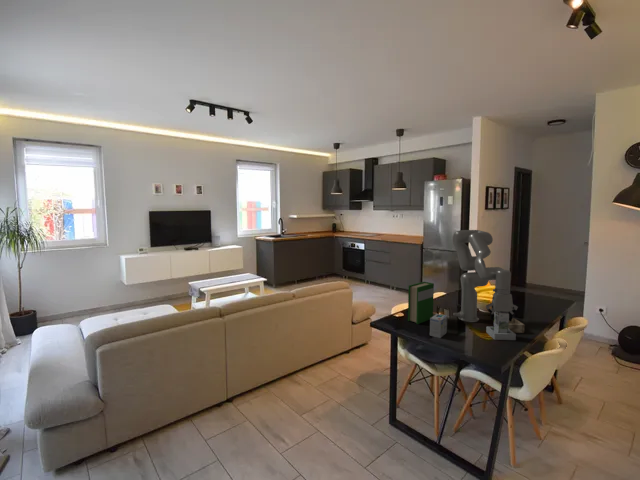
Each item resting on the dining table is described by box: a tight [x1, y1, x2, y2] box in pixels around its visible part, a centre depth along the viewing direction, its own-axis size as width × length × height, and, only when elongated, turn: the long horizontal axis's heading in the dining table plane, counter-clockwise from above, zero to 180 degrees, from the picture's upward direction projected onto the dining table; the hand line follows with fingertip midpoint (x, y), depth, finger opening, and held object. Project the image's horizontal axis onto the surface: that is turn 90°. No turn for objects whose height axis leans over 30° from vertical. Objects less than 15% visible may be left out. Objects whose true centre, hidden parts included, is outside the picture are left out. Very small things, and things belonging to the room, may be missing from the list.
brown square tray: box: [508, 317, 526, 334], centre depth 204 cm, size 11×11×5 cm
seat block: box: [485, 326, 517, 341], centre depth 193 cm, size 11×11×4 cm
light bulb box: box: [429, 313, 448, 339], centre depth 197 cm, size 11×7×11 cm, turn 141°
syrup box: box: [492, 311, 509, 333], centre depth 193 cm, size 6×6×14 cm
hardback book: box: [407, 281, 435, 325], centre depth 221 cm, size 18×7×24 cm, turn 129°
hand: (501, 320), depth 193 cm, fingers open, 9 cm apart
